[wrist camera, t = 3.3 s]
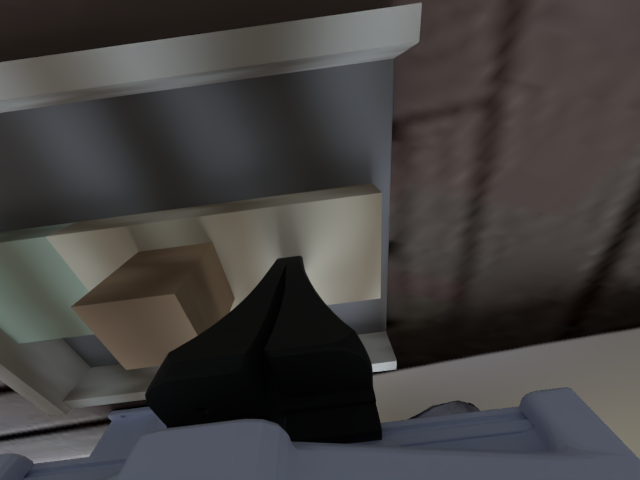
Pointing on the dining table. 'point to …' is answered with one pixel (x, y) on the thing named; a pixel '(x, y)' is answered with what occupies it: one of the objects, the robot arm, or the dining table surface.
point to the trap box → (193, 181)
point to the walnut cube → (157, 303)
